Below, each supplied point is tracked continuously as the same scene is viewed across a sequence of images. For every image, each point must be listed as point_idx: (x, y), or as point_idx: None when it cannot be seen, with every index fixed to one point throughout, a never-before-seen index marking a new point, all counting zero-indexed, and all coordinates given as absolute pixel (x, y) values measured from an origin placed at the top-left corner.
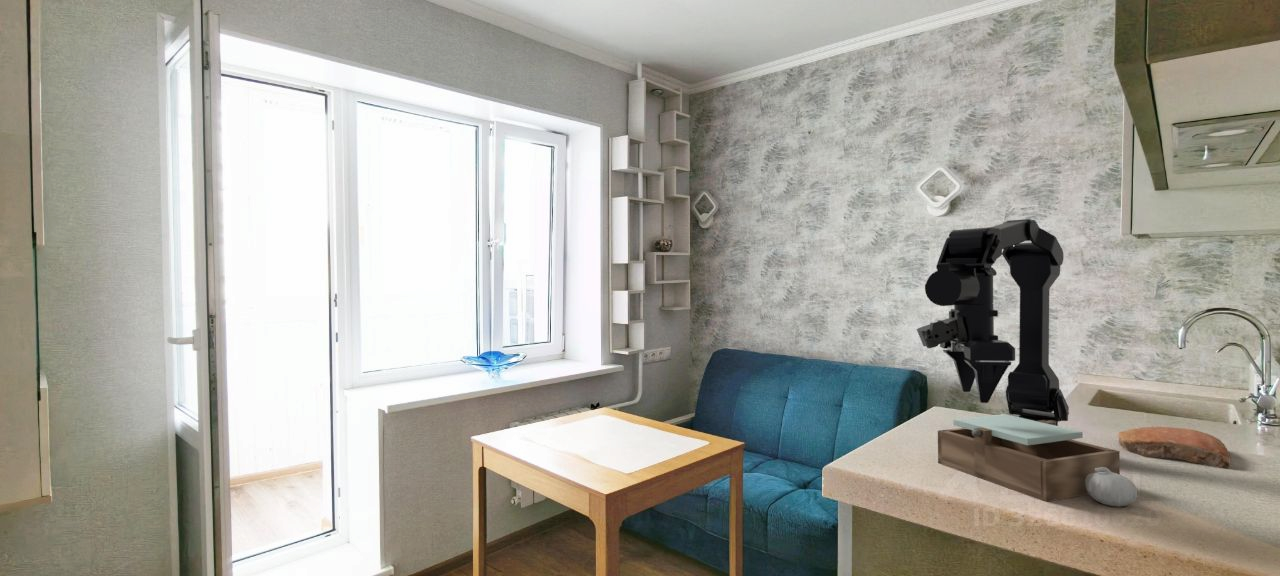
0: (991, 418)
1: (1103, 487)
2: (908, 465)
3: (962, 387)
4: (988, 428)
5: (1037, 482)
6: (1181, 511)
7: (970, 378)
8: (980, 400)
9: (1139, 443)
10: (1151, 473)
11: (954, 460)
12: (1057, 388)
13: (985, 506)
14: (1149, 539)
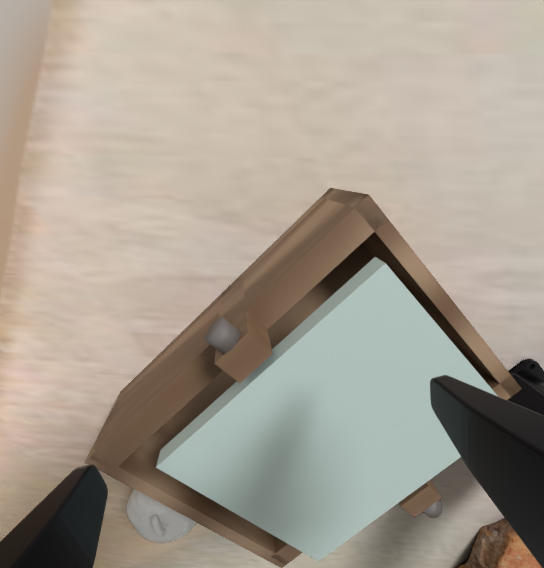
0: None
1: (132, 499)
2: (275, 97)
3: (448, 391)
4: (264, 374)
5: (121, 403)
6: (185, 538)
7: (503, 491)
8: (69, 476)
9: (502, 547)
10: (381, 527)
11: (291, 233)
12: None
13: (4, 286)
14: (6, 498)
